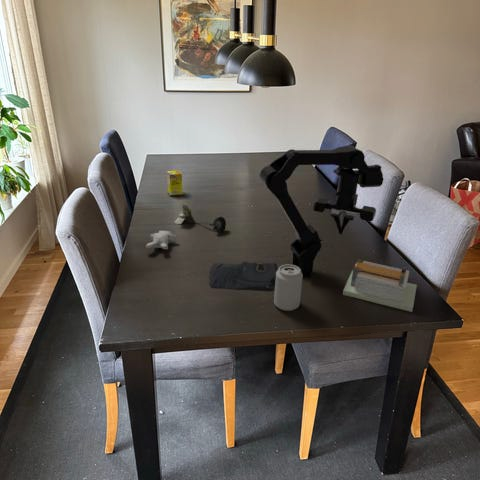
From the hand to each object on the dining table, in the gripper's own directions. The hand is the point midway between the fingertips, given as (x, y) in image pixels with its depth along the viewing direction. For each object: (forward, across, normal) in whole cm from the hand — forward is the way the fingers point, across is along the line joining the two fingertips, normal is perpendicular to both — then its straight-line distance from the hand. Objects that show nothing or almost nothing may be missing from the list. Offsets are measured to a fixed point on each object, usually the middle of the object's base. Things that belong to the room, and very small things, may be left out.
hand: (340, 233), depth 140 cm
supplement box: (+13, +87, -36) cm, 95 cm away
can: (+13, +8, +28) cm, 32 cm away
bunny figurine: (+13, +61, +14) cm, 64 cm away
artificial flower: (+13, +59, -8) cm, 61 cm away
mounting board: (+13, -16, +8) cm, 22 cm away
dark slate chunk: (+14, +25, +20) cm, 35 cm away
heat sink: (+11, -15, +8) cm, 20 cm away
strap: (+6, -14, +8) cm, 18 cm away
